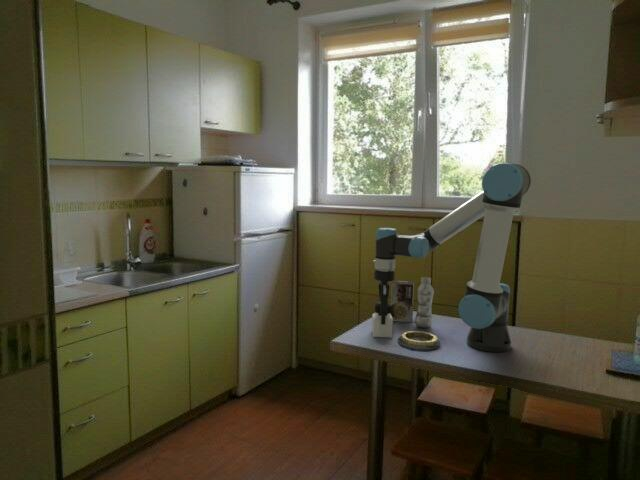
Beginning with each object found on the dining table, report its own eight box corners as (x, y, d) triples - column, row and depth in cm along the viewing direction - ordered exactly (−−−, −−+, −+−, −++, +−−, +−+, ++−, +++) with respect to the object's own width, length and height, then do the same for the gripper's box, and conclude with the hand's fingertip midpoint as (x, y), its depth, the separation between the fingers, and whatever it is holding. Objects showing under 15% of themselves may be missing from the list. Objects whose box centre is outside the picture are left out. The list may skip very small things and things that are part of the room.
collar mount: (436, 337, 184) (437, 331, 183) (443, 351, 169) (443, 344, 168) (396, 335, 185) (396, 329, 184) (399, 349, 170) (399, 342, 170)
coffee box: (412, 318, 208) (414, 281, 206) (411, 322, 202) (414, 284, 200) (391, 316, 210) (392, 279, 208) (389, 320, 204) (391, 282, 202)
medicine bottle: (392, 337, 182) (393, 306, 181) (373, 337, 182) (374, 305, 181) (390, 331, 189) (391, 301, 188) (371, 331, 189) (372, 300, 188)
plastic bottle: (414, 324, 200) (416, 276, 197) (431, 325, 199) (434, 276, 196) (415, 328, 194) (417, 279, 191) (432, 330, 193) (435, 280, 190)
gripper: (373, 264, 193) (371, 320, 196) (375, 274, 173) (372, 337, 176) (393, 265, 192) (390, 321, 195) (396, 275, 172) (393, 338, 175)
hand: (382, 328), depth 185 cm, fingers closed on medicine bottle, 7 cm apart
